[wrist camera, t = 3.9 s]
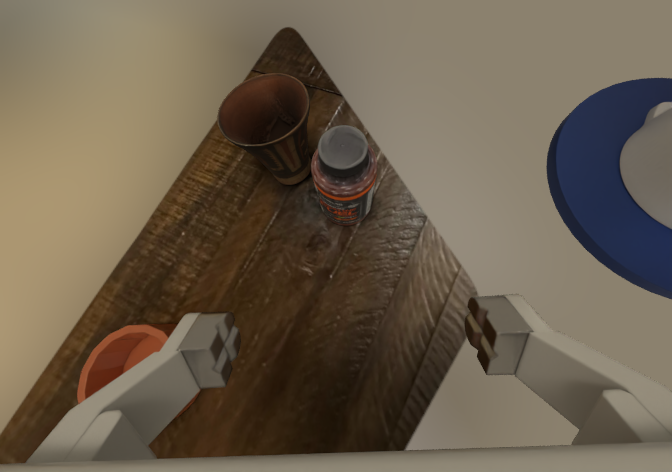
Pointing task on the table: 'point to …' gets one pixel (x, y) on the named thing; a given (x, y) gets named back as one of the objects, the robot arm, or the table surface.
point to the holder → (122, 356)
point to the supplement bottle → (344, 174)
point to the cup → (270, 123)
